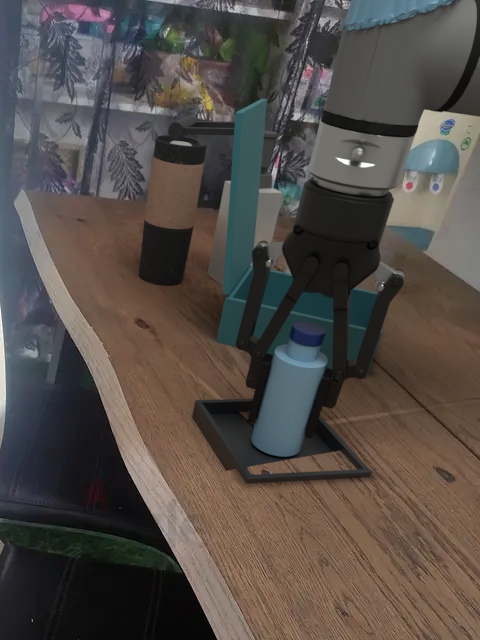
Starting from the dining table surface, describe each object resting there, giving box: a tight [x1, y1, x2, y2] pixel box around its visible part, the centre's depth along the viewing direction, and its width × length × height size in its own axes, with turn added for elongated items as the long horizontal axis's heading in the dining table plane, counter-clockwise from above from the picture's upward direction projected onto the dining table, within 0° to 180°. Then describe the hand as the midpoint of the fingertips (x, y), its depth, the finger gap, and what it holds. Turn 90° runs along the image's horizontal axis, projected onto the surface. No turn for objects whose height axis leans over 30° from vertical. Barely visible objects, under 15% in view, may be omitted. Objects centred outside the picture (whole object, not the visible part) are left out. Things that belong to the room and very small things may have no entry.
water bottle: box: [251, 321, 328, 457], centre depth 73 cm, size 5×5×13 cm
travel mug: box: [138, 134, 208, 286], centre depth 112 cm, size 8×8×20 cm
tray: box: [192, 398, 373, 485], centre depth 77 cm, size 15×13×2 cm
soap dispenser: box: [206, 129, 284, 287], centre depth 114 cm, size 6×9×22 cm
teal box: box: [215, 265, 384, 379], centre depth 99 cm, size 20×16×7 cm
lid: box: [167, 98, 268, 295], centre depth 95 cm, size 20×16×10 cm
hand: (281, 423), depth 76 cm, fingers closed on water bottle, 5 cm apart
